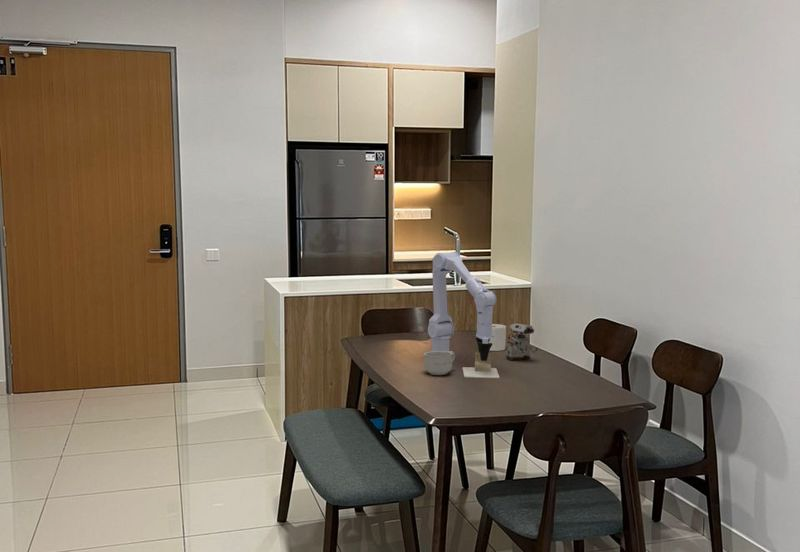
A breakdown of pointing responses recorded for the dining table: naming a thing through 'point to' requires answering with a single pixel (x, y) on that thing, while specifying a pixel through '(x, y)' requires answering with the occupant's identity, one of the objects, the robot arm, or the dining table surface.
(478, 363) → the wooden block
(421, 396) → the dining table surface
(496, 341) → the toilet tissue
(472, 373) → the mat
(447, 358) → the teacup
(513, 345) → the figurine
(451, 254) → the robot arm
